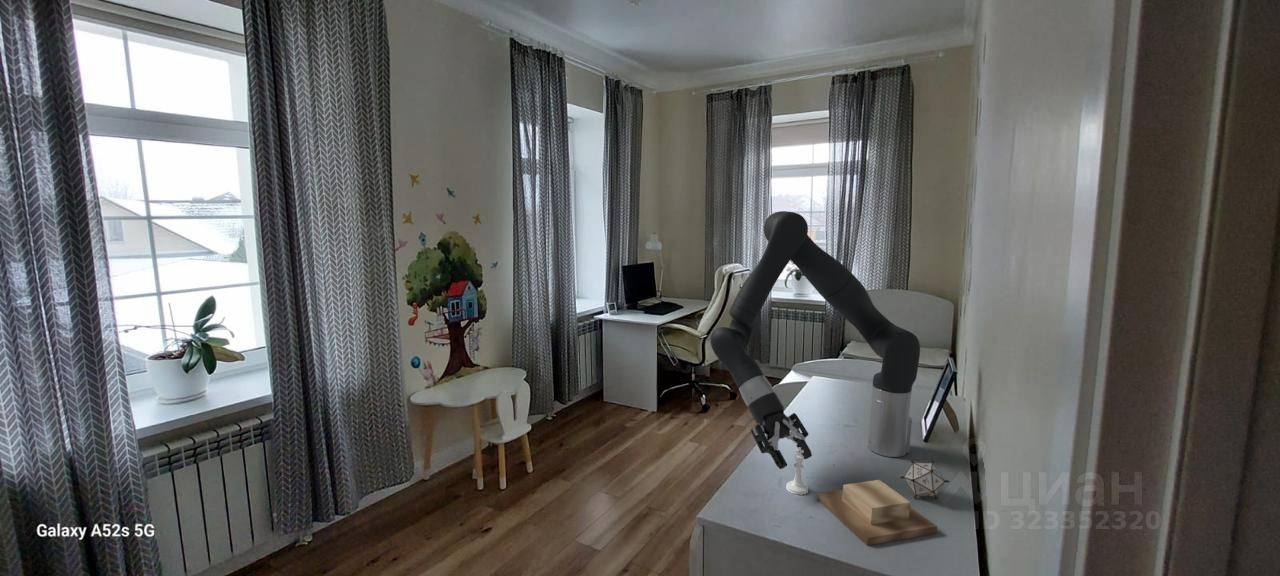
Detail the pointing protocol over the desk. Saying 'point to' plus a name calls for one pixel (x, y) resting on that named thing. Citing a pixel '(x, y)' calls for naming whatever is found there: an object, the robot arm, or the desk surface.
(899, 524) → the walnut base
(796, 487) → the chess piece
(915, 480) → the game die
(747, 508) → the desk surface
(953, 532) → the desk surface
